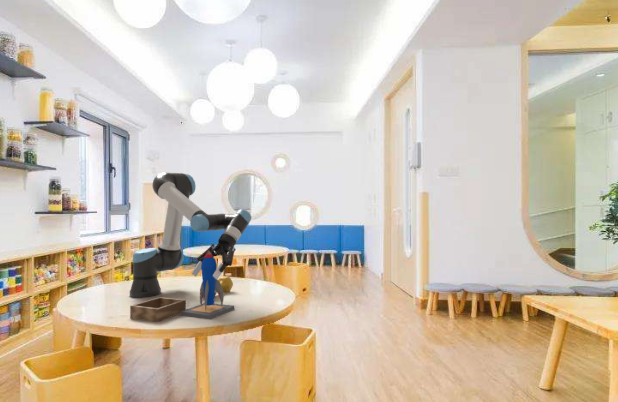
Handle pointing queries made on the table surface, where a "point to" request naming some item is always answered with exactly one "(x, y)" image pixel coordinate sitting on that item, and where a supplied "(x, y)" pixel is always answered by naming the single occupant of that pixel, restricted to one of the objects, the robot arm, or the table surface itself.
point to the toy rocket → (209, 281)
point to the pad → (207, 311)
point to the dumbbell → (225, 283)
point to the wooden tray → (157, 309)
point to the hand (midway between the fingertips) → (203, 276)
